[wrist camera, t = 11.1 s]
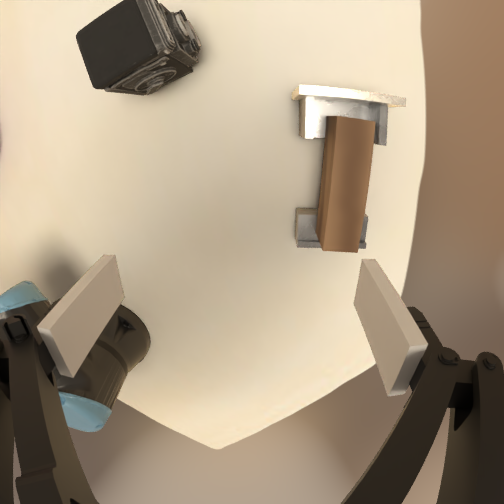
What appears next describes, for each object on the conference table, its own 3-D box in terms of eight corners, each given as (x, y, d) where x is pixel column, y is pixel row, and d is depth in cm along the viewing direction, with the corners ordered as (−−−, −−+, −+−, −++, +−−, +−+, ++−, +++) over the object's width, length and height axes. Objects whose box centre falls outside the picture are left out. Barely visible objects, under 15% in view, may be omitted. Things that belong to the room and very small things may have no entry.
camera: (215, 71, 35) (189, 47, 22) (148, 103, 37) (94, 100, 24) (189, 13, 31) (155, -28, 18) (125, 46, 33) (69, 26, 20)
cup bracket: (291, 135, 39) (299, 140, 30) (291, 92, 36) (299, 84, 27) (374, 141, 38) (403, 149, 29) (375, 100, 36) (405, 98, 27)
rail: (315, 232, 41) (322, 250, 36) (326, 115, 35) (337, 115, 29) (346, 234, 41) (357, 252, 36) (359, 120, 34) (375, 121, 29)
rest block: (294, 236, 45) (297, 247, 42) (296, 208, 43) (299, 216, 40) (358, 238, 45) (365, 248, 41) (362, 210, 43) (369, 218, 39)
